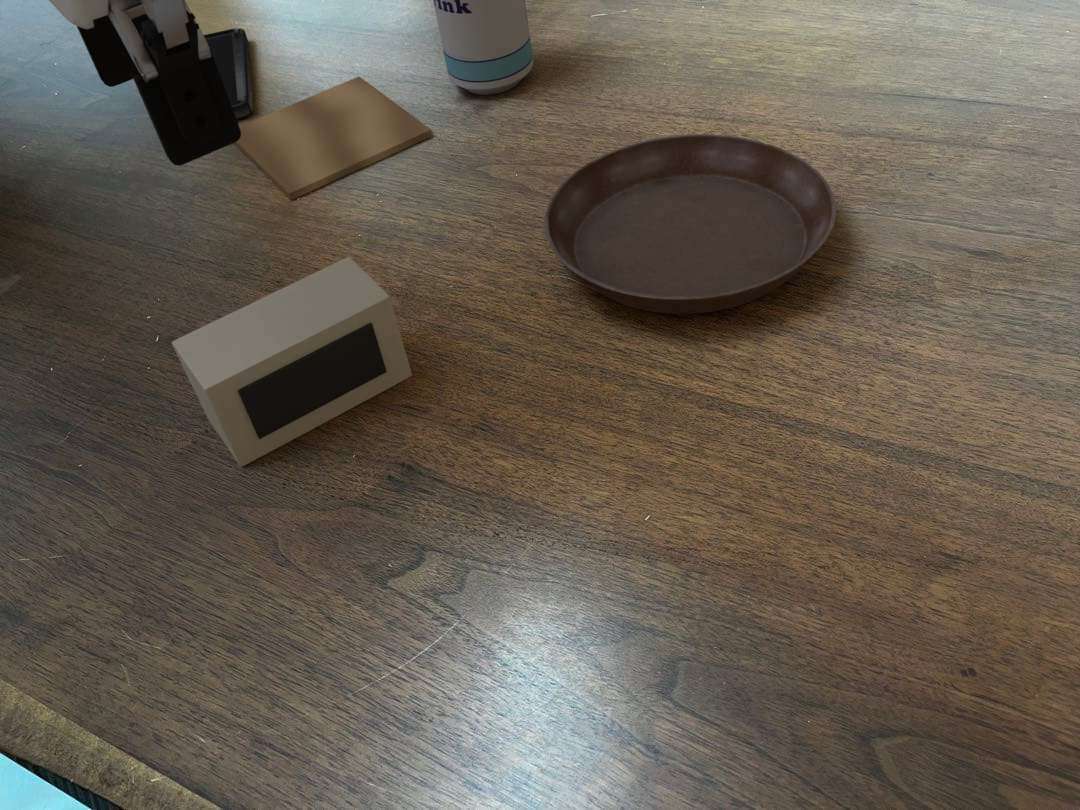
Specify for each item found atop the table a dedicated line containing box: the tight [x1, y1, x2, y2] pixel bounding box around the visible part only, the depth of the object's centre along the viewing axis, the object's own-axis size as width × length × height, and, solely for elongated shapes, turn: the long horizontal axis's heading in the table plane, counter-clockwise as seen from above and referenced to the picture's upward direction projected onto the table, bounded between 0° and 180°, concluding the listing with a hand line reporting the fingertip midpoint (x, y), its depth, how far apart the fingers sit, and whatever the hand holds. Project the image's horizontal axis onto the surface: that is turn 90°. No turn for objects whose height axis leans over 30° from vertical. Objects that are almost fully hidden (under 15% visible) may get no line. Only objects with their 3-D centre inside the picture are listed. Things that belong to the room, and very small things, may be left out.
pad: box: [233, 76, 433, 201], centre depth 84 cm, size 12×12×1 cm
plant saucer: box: [544, 133, 837, 315], centre depth 68 cm, size 18×18×3 cm
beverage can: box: [432, 0, 534, 96], centre depth 83 cm, size 7×7×12 cm
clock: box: [171, 256, 413, 468], centre depth 61 cm, size 11×5×6 cm, turn 124°
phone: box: [203, 27, 254, 120], centre depth 93 cm, size 8×1×15 cm
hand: (169, 110), depth 49 cm, fingers open, 9 cm apart
